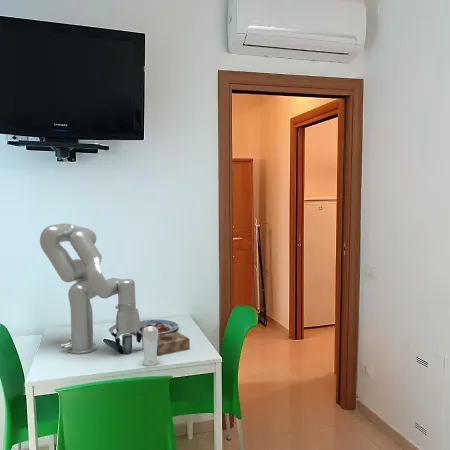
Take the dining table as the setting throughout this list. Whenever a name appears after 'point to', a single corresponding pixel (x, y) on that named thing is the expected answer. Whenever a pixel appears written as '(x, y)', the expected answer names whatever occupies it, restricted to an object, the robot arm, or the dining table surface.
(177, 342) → the block
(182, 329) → the dining table surface
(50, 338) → the dining table surface
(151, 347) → the beer glass
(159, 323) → the ceramic plate
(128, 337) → the grey cylinder
